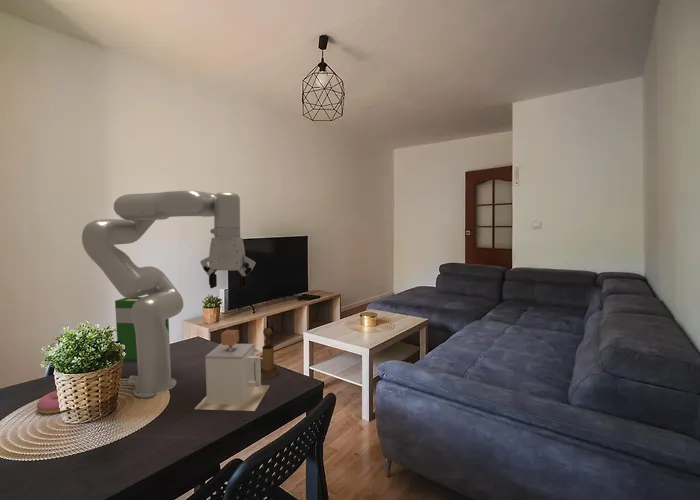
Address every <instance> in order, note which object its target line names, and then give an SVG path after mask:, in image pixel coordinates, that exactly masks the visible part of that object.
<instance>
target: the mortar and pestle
mask: <svg viewBox="0 0 700 500" xmlns="http://www.w3.org/2000/svg"><path fill="white" fill-rule="evenodd" d="M272 333H273V331H272V328H271V327H264V329H263V335H264V337H265V338H264V339H265V340H264V345H263V346H262V348H261V349H262V367H261V379H271V378H275V377H277V376H278V372H279V371H278V368H276V367H275V364H274V363H275V359H274V354H275V353H274V351H275V350H274V346H273V345H272V343H271V342H272V340H271V338H270V337H271V335H272Z"/></svg>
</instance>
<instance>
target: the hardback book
mask: <svg viewBox="0 0 700 500" xmlns="http://www.w3.org/2000/svg"><path fill="white" fill-rule="evenodd" d="M142 297H143V296H140V297H136V298H126V297H123V298H120V299H115V300H114V304H115V305H114V307H115V309H114V310H115V322H116V323H115V324H116V326H115V327H116V340H117V341H121V342H122V344H124V345H125V353H126V357H125V359H124V360H136V361H137V346H136V333H135V327H134V324H133V320H132V317H131V309H132V306H133V304H134V303H135V302H136V301H137V300H139V299H140V298H142ZM169 319H170V318H168V319H166V320H164V324H165V326H166V328H167V330H168V333H169V334H170V325H169V324H170V323H169V321H170V320H169ZM117 341H116V342H117ZM169 342H170V340H169Z"/></svg>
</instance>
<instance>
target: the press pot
mask: <svg viewBox="0 0 700 500" xmlns="http://www.w3.org/2000/svg"><path fill="white" fill-rule="evenodd" d="M261 365H262V364H261V356H259V355H258V356H257V355H255V345H254V343H236V344H235V345H233V351H229V345H222V344H221V343H219V344H218V345H217V346H216V347H215V348H213V349H212V350H211V351H210V352H209V353H207V354H206V355H205V382H206V383H205V384H206V386H205V388H206V396H207V404H222V405H243V404H244V403H245V401H246V400H247V399H248V397H249V396H250V394H251V393H252V391H253V390H254V388H255V387H260V386H261V385H262V378H261V369H262V366H261Z"/></svg>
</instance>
